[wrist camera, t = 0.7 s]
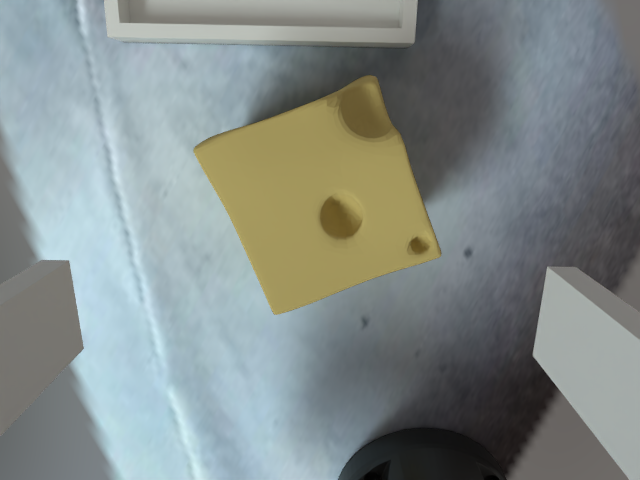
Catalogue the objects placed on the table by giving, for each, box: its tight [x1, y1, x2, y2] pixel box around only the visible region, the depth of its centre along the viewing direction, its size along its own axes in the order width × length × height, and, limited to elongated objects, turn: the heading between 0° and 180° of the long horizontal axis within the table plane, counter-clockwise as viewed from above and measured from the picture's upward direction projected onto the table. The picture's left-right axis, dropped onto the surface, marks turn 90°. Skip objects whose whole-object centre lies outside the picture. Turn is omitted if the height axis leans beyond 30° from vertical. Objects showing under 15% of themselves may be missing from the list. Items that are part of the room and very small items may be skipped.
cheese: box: [194, 75, 441, 315], centre depth 28 cm, size 10×11×10 cm
